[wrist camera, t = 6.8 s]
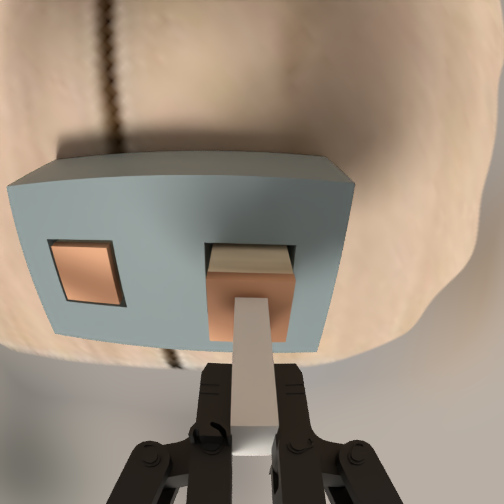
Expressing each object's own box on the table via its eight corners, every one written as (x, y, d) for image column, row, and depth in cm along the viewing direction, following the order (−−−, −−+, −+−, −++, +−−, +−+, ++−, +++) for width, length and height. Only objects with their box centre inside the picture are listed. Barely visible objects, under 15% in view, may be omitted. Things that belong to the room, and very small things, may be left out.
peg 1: (90, 207, 20) (51, 246, 15) (138, 206, 21) (106, 248, 15) (99, 253, 22) (67, 299, 17) (144, 254, 23) (119, 304, 17)
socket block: (54, 160, 18) (6, 186, 13) (325, 156, 19) (354, 183, 14) (82, 288, 24) (55, 333, 19) (304, 299, 25) (316, 351, 20)
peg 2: (216, 222, 19) (205, 279, 13) (281, 224, 19) (295, 281, 14) (217, 276, 21) (209, 340, 16) (276, 277, 21) (285, 342, 16)
